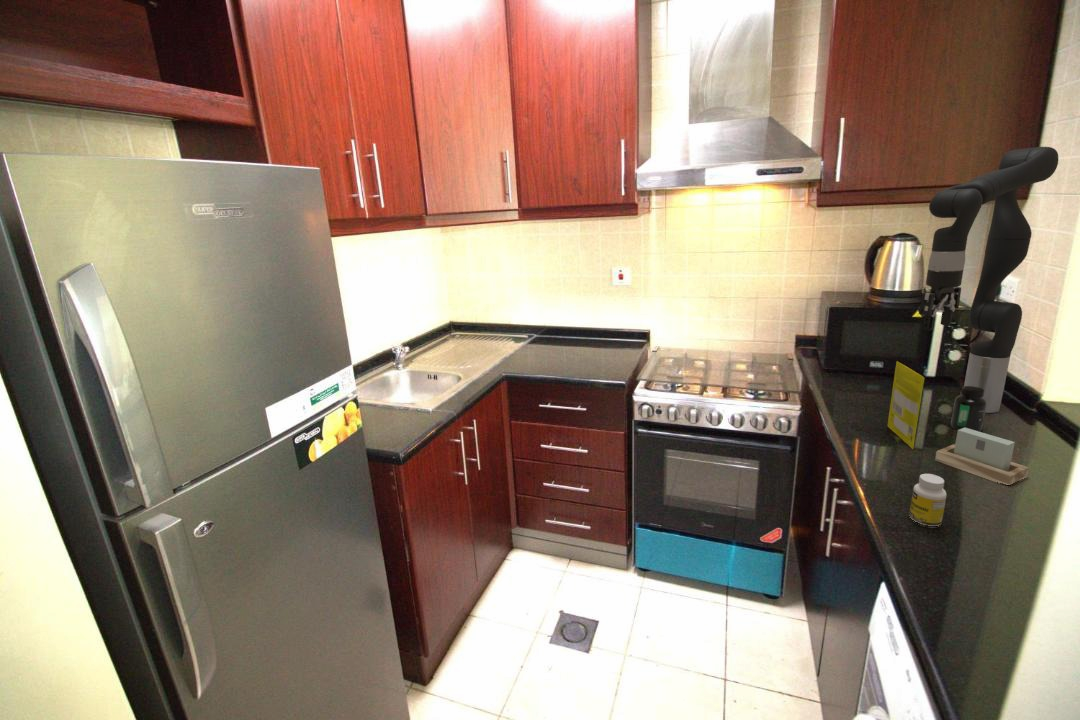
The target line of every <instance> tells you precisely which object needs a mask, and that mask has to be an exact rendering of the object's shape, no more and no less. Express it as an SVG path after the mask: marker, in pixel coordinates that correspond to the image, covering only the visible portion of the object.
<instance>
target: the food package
mask: <svg viewBox="0 0 1080 720" xmlns="http://www.w3.org/2000/svg"><path fill="white" fill-rule="evenodd" d="M895 364H896V365H895V369H894V376H893V384H892V390H891V391H892V392H891V396H890V397H891V399H890V404H889V412H888V418H887V427H888V428H889V429H890V430H891V431H892V432H893V433H894V434H895V435H896V436H898V438H899V439H901V440H902V441H903V442H904V443H905V444H906V445H907V446H908V447H910V448H911V449H912V450H914V446H915V439H916V433H917V427H918V420H919V415H920V410H921V409H920V408H921V402H922V395H923V389H924V384H925V377H924V376H923V375H921V374H920V373H918V372H916V371H915V370H913V369H911V368H910V367H908V366H906V365H905V364H903V363H901V362H899V361H898V360H897V361H896V363H895Z"/></svg>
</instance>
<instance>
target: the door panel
mask: <svg viewBox="0 0 1080 720" xmlns="http://www.w3.org/2000/svg"><path fill="white" fill-rule="evenodd" d="M955 438H956V439H955V443H954V444H955V449H954V454H956V455H959V456H962V457H965V458H968V459H971V460H974V461H977V462H980V463H983V464H986V465H989V466H992V467H995V468H998V469H1000V470H1003V471H1006V472H1009V468H1010V463H1011V462H1012V458H1013V454H1014V449H1015V444H1016V442H1015V441H1012V440H1009V439H1005V438H1002V437H999V436H995V435H991V434H989V433H984V432H981V431H980V432H979V431H975V430H972V429H968V428H962V429H960V430H957V433H956V437H955Z"/></svg>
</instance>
